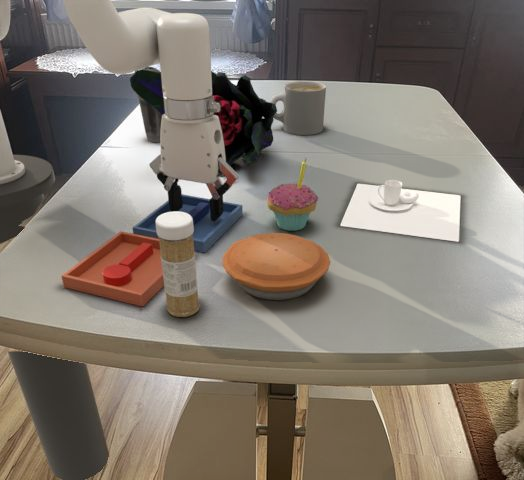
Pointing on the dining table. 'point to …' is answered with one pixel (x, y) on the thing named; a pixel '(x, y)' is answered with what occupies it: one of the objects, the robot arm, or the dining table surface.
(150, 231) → the blue tray
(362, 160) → the dining table surface
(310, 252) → the pie
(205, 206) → the blue spoon
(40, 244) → the dining table surface
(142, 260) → the red spoon
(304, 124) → the coffee mug
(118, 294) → the terracotta tray
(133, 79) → the decorative plant
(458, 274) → the dining table surface
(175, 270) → the sprinkles bottle
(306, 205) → the cupcake
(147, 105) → the beverage cup
